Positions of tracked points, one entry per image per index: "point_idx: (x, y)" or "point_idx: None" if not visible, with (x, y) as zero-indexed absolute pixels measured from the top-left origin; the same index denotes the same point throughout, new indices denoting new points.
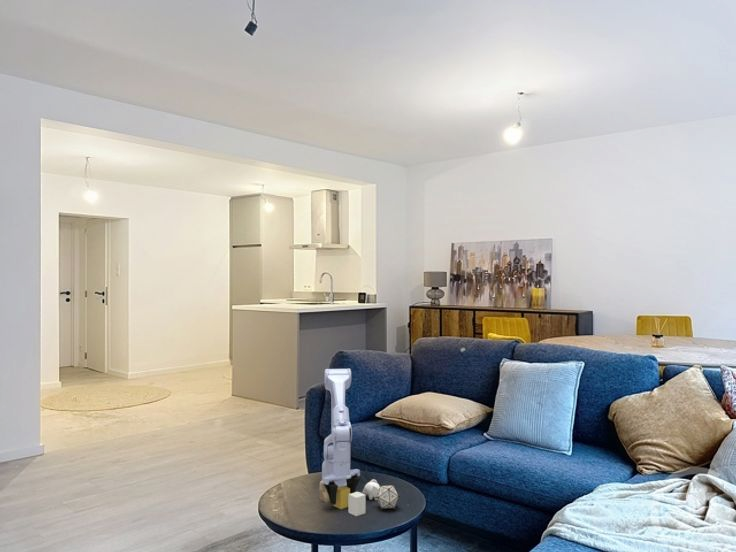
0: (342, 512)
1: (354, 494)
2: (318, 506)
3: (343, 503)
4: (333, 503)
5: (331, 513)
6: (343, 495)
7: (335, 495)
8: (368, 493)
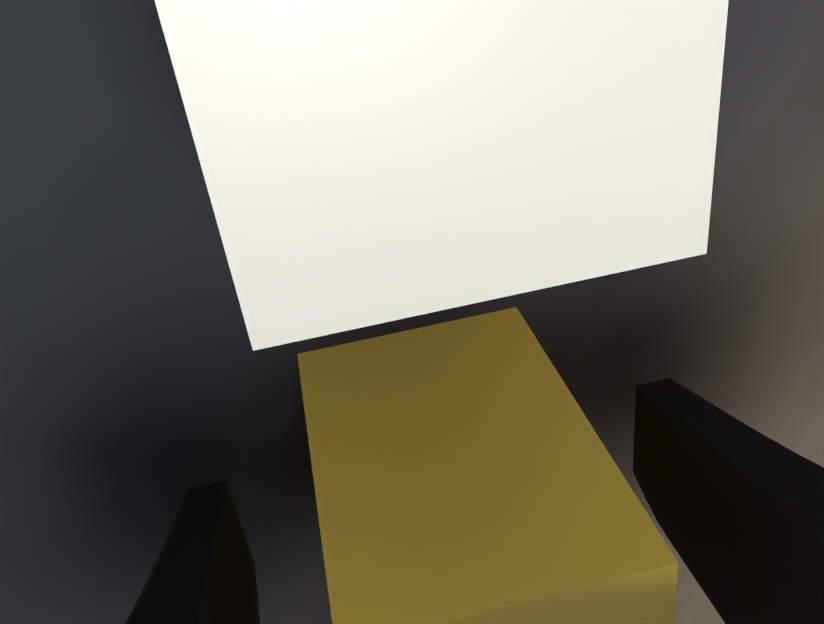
0: None
1: (548, 125)
2: None
3: (478, 370)
4: (687, 397)
5: (759, 211)
6: (532, 484)
7: (777, 482)
8: None
